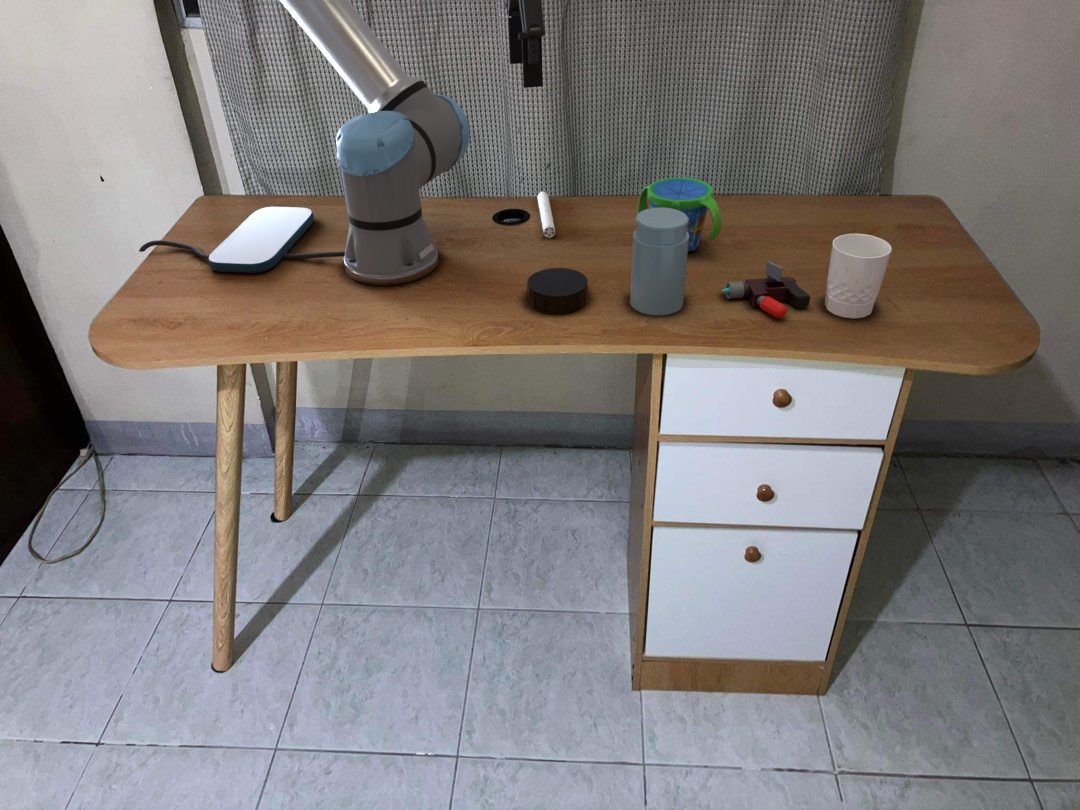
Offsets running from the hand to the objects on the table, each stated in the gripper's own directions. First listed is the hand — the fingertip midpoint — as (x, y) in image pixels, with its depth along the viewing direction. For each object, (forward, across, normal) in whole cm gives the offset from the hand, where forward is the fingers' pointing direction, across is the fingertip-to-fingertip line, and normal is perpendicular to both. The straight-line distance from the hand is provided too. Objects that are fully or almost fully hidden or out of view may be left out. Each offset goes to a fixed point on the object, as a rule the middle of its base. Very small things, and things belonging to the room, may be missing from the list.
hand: (525, 74), depth 124 cm
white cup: (+29, +29, +42) cm, 59 cm away
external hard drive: (+29, -13, -45) cm, 55 cm away
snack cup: (+29, +4, +24) cm, 38 cm away
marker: (+29, -13, +5) cm, 32 cm away
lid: (+26, +18, +1) cm, 32 cm away
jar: (+29, +22, +16) cm, 39 cm away
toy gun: (+29, +26, +31) cm, 50 cm away
